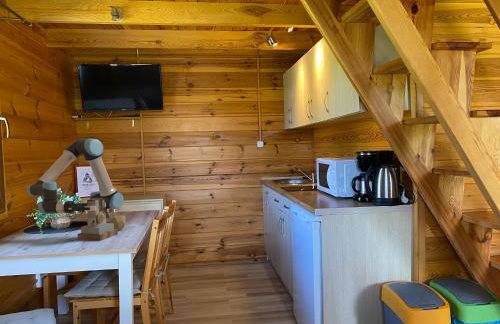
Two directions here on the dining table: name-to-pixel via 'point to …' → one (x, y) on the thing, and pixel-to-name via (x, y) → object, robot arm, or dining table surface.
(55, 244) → the dining table surface
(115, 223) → the low-poly potato
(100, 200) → the coffee box
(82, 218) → the dining table surface
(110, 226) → the slate top block
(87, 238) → the walnut base block
